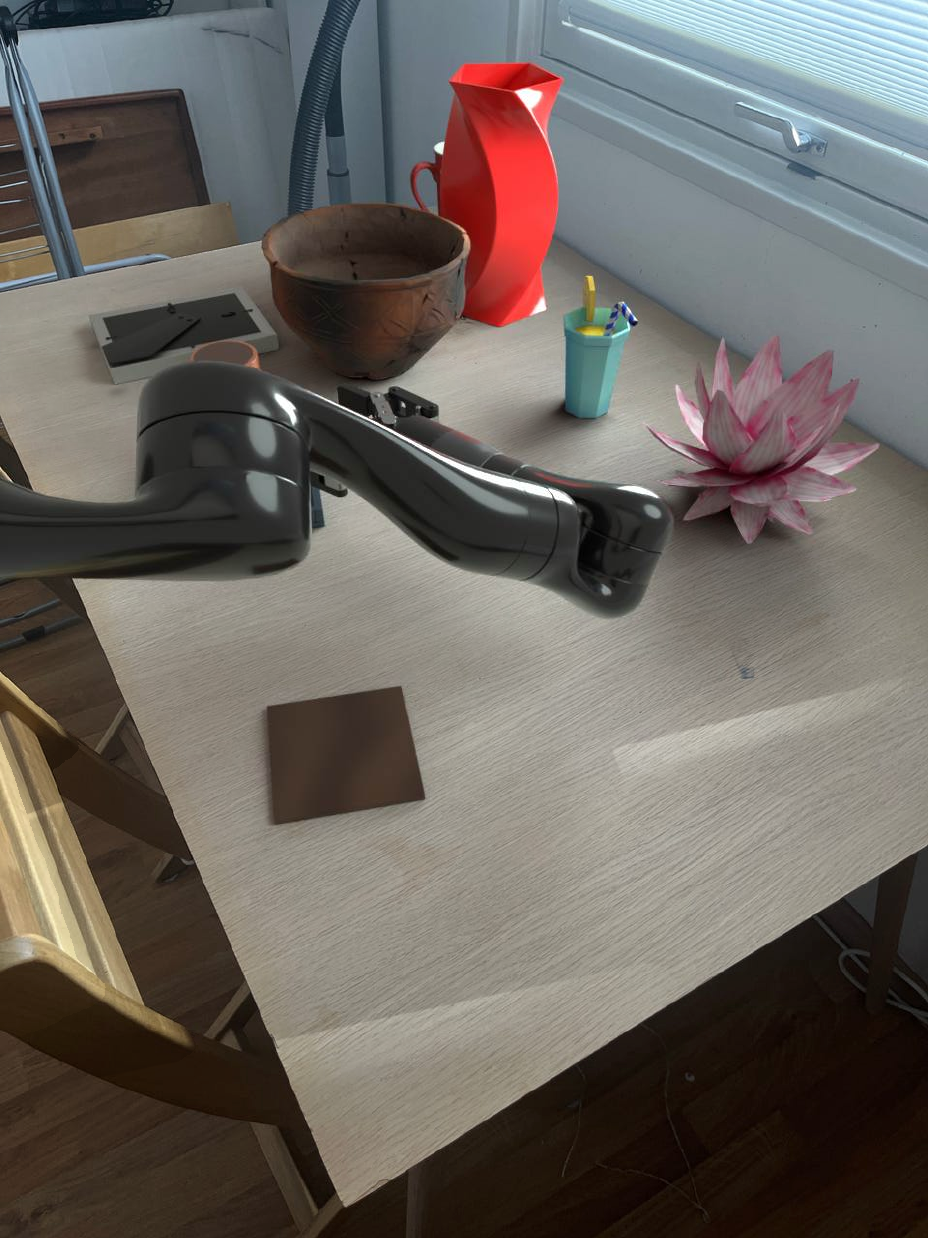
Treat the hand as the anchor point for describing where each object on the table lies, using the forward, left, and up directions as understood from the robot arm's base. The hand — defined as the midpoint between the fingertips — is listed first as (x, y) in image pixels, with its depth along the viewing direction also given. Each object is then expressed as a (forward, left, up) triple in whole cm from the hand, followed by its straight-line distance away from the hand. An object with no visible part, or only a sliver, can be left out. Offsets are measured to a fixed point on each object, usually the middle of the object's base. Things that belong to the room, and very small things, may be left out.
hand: (308, 412), depth 81 cm
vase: (+28, +43, -12) cm, 53 cm away
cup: (+33, +13, -12) cm, 37 cm away
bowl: (+10, +31, -12) cm, 35 cm away
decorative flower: (+43, -7, -12) cm, 45 cm away
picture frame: (-14, +40, -12) cm, 44 cm away
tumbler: (-7, +8, -11) cm, 15 cm away
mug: (+27, +66, -12) cm, 72 cm away
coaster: (-1, -31, -11) cm, 33 cm away
